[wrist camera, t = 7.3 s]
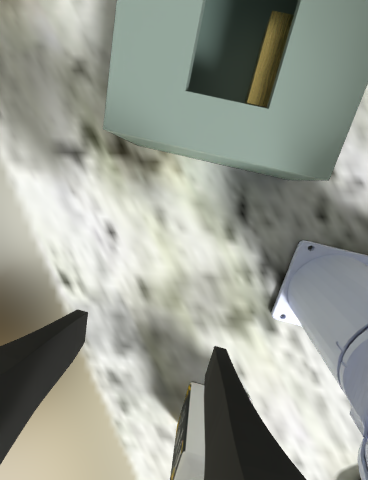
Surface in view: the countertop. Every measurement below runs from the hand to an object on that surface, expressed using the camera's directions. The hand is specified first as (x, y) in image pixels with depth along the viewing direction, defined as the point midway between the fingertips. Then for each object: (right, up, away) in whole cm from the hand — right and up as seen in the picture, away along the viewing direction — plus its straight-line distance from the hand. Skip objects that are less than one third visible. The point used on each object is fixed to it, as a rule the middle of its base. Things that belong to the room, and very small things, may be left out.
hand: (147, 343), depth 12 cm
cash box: (+6, +18, +5) cm, 20 cm away
